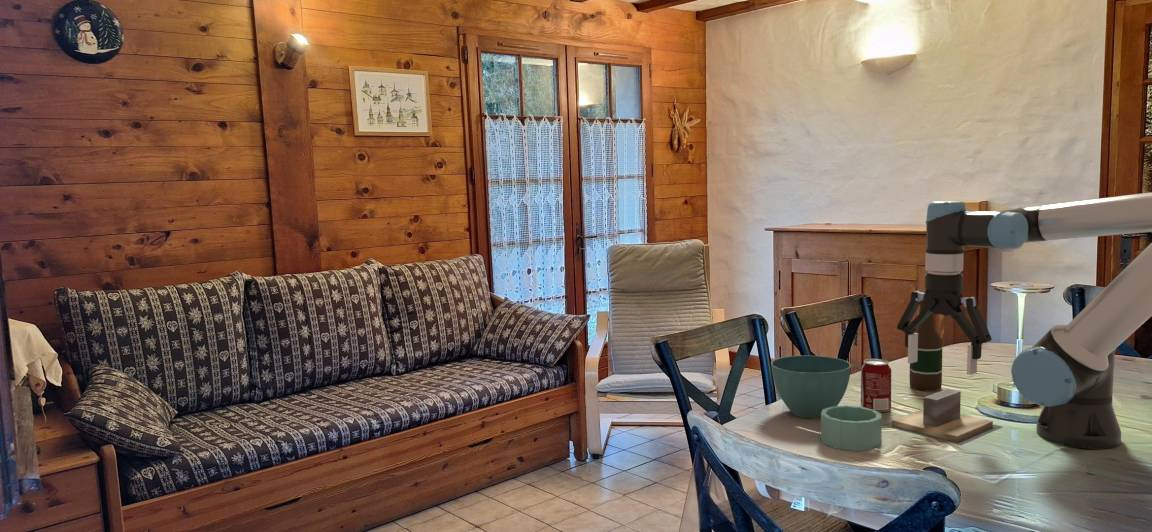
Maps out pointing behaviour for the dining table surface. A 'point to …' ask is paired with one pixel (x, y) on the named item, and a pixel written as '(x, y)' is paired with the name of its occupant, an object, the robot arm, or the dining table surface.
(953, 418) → the lid
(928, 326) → the beer bottle
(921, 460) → the dining table surface
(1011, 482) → the dining table surface
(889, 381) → the soda can
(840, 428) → the bowl
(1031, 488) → the dining table surface
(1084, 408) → the robot arm
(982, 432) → the mat
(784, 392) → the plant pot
